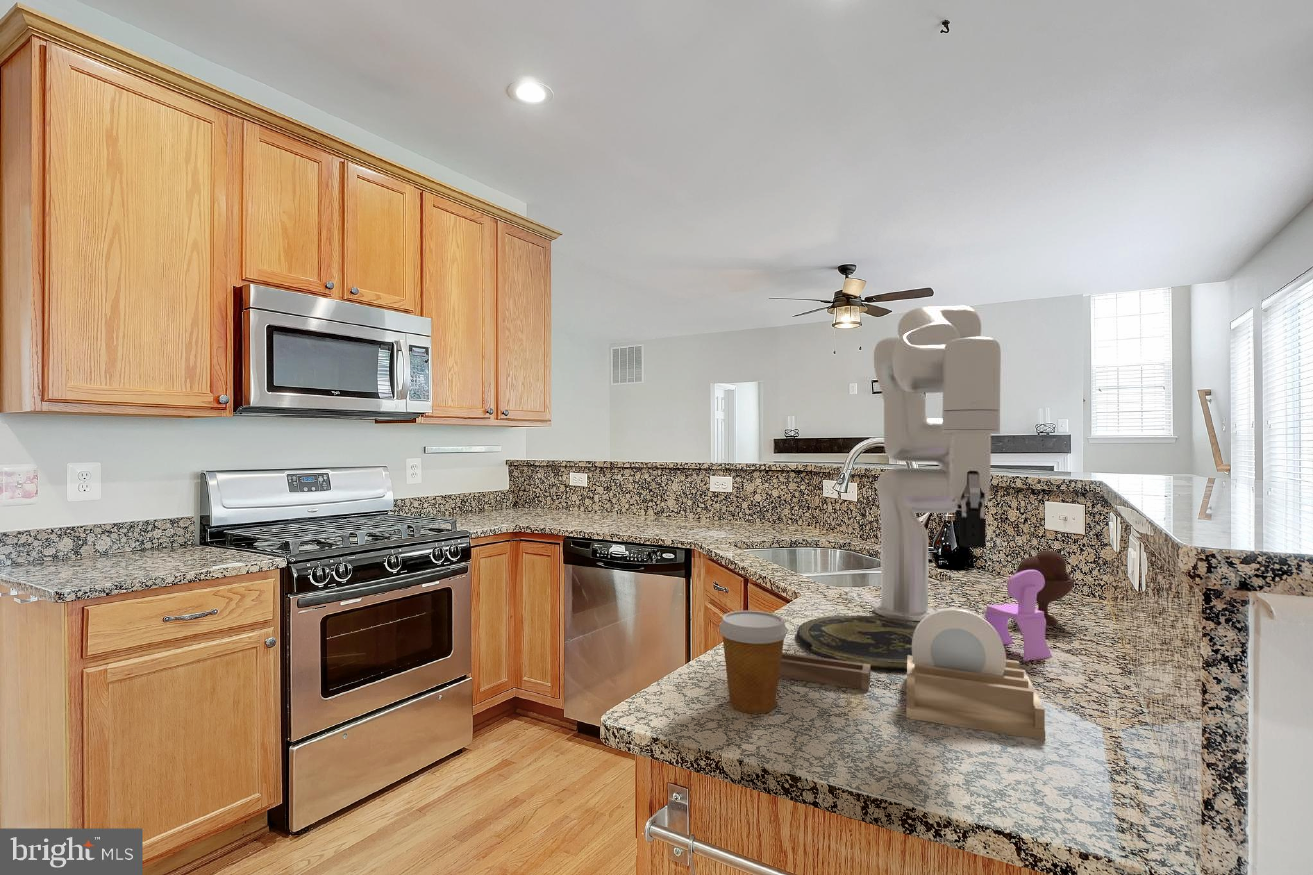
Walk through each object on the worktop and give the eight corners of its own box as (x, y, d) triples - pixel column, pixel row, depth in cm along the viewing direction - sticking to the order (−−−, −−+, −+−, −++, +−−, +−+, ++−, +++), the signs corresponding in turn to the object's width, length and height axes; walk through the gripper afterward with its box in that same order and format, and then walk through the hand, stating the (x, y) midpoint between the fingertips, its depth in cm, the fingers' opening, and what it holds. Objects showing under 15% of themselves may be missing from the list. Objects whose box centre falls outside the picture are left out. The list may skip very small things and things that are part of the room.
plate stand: (771, 666, 103) (771, 651, 103) (870, 680, 97) (870, 664, 97) (765, 674, 99) (766, 659, 99) (868, 690, 93) (868, 673, 93)
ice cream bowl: (1060, 615, 135) (1060, 546, 135) (1083, 630, 124) (1083, 555, 124) (1006, 612, 138) (1006, 544, 138) (1024, 626, 127) (1024, 552, 127)
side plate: (897, 622, 92) (980, 596, 88) (933, 702, 90) (1020, 679, 86) (897, 625, 91) (982, 599, 87) (934, 707, 89) (1022, 684, 85)
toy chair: (1013, 641, 117) (1013, 561, 117) (1056, 656, 109) (1057, 570, 109) (978, 645, 115) (979, 563, 115) (1020, 661, 106) (1020, 573, 106)
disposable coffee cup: (800, 704, 87) (800, 618, 88) (760, 726, 81) (761, 633, 81) (745, 685, 94) (745, 606, 94) (704, 704, 87) (705, 618, 88)
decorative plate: (1010, 651, 107) (869, 672, 96) (1010, 662, 107) (869, 685, 96) (886, 609, 134) (765, 622, 124) (886, 618, 134) (765, 631, 123)
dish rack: (907, 677, 98) (907, 644, 98) (1024, 693, 92) (1024, 658, 92) (906, 717, 83) (906, 678, 84) (1045, 740, 77) (1045, 698, 77)
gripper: (940, 424, 100) (939, 531, 100) (944, 422, 84) (943, 549, 84) (993, 424, 97) (992, 534, 97) (1007, 422, 81) (1006, 553, 81)
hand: (969, 541), depth 91 cm, fingers open, 9 cm apart
